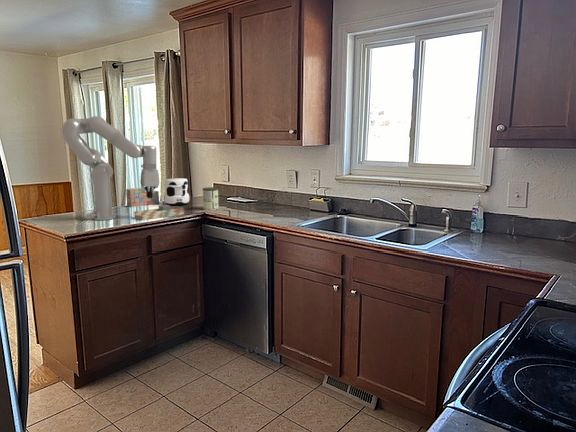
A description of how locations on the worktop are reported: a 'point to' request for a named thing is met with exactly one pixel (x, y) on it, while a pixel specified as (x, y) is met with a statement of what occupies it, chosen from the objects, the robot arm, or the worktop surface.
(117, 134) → the robot arm
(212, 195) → the coffee can
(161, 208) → the block
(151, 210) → the lane
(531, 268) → the worktop surface
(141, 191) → the stack of blocks
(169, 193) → the milk container
